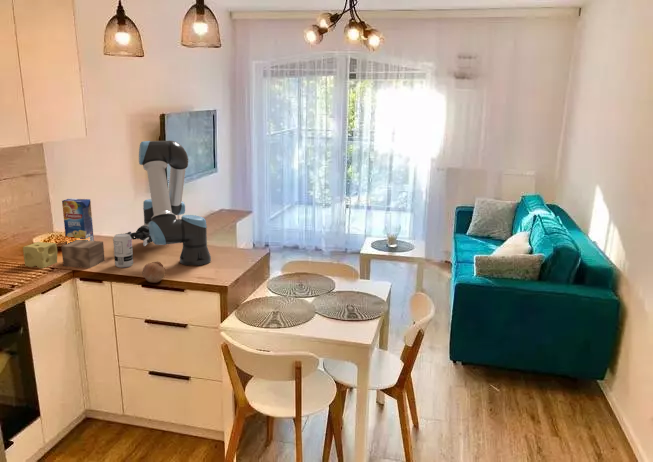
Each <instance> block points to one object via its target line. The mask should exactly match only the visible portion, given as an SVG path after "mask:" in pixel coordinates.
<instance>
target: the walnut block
mask: <svg viewBox="0 0 653 462" xmlns="http://www.w3.org/2000/svg"><path fill="white" fill-rule="evenodd" d="M60 247H61V256H62V264H63V266H64V267H72V268H73V267H74V268H83V269H84V268H86V269H91V268H93V267H95V266H97V265H99V264H101V263H103V262H105V250H104V249H105V248H104V241H100V240H94V241H88V240H75V241H73V242H70V243H68V244H66V243H65V244H63V245H61V246H60Z"/></svg>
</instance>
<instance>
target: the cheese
mask: <svg viewBox="0 0 653 462" xmlns="http://www.w3.org/2000/svg"><path fill="white" fill-rule="evenodd" d="M22 251H23V260H24V265H25V267H26V266H28V267H30V268H37V267H39V268H38V269H45V268H47V267H49V266H51V265H55V264H57V263H58V247H57V243H56V242H43V241H37V242H34V243H31V244H28V245H25V246H22ZM36 266H37V267H36ZM28 267H27V268H28ZM44 267H45V268H44Z"/></svg>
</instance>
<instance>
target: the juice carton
mask: <svg viewBox="0 0 653 462" xmlns="http://www.w3.org/2000/svg"><path fill="white" fill-rule="evenodd" d="M61 202H62V213H63V222H64V223H63V225H64V233H65V234H64V235H65V237H66V236H68V237H74V238H80V239H86V238H88V237H90V241H95V240H94V239H95V238H94V237H95V236H94V229H93V228H94V227H93V215H92V201H91V199H89V198H86V199H85V198H75V197H74V198H73V197H70V198H67V199H64V200H63V199H62V200H61Z"/></svg>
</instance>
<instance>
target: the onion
mask: <svg viewBox="0 0 653 462" xmlns="http://www.w3.org/2000/svg"><path fill="white" fill-rule="evenodd" d="M165 274H166V269H165V267H164V265H163V264H162V262H161V261H153V262H148V263H146V264H145V265H144V267H143V268H142V276H143V277H144V279H145V280H146V281H147V282H148V283H150V284H151V283H153V284H155V283H159V282H161V281H162V280H163V279H164V277H165Z"/></svg>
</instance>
